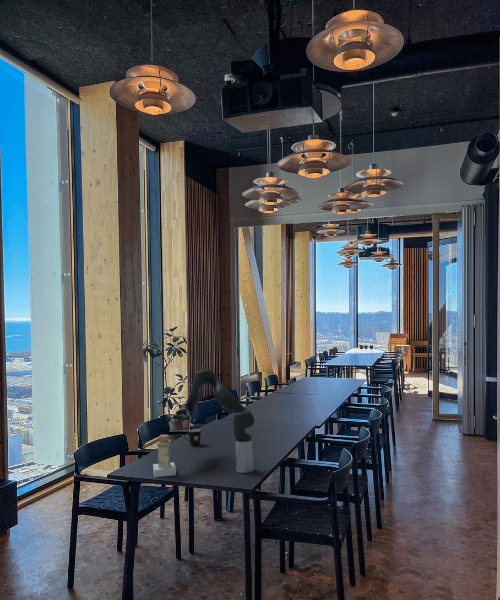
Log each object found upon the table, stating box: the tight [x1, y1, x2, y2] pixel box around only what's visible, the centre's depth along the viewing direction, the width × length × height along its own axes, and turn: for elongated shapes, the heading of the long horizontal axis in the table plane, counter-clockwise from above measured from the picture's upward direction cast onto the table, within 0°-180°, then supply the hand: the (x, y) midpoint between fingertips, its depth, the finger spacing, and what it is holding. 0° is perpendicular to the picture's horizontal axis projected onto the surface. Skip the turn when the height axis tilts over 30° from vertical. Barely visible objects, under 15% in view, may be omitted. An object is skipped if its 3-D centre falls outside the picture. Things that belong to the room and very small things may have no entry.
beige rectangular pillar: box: [156, 439, 172, 467], centre depth 283 cm, size 6×6×14 cm
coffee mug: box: [183, 428, 202, 447], centre depth 347 cm, size 12×9×10 cm
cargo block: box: [158, 434, 170, 442], centre depth 283 cm, size 4×4×3 cm
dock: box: [152, 461, 177, 478], centre depth 282 cm, size 12×12×4 cm
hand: (175, 420), depth 294 cm, fingers open, 8 cm apart
